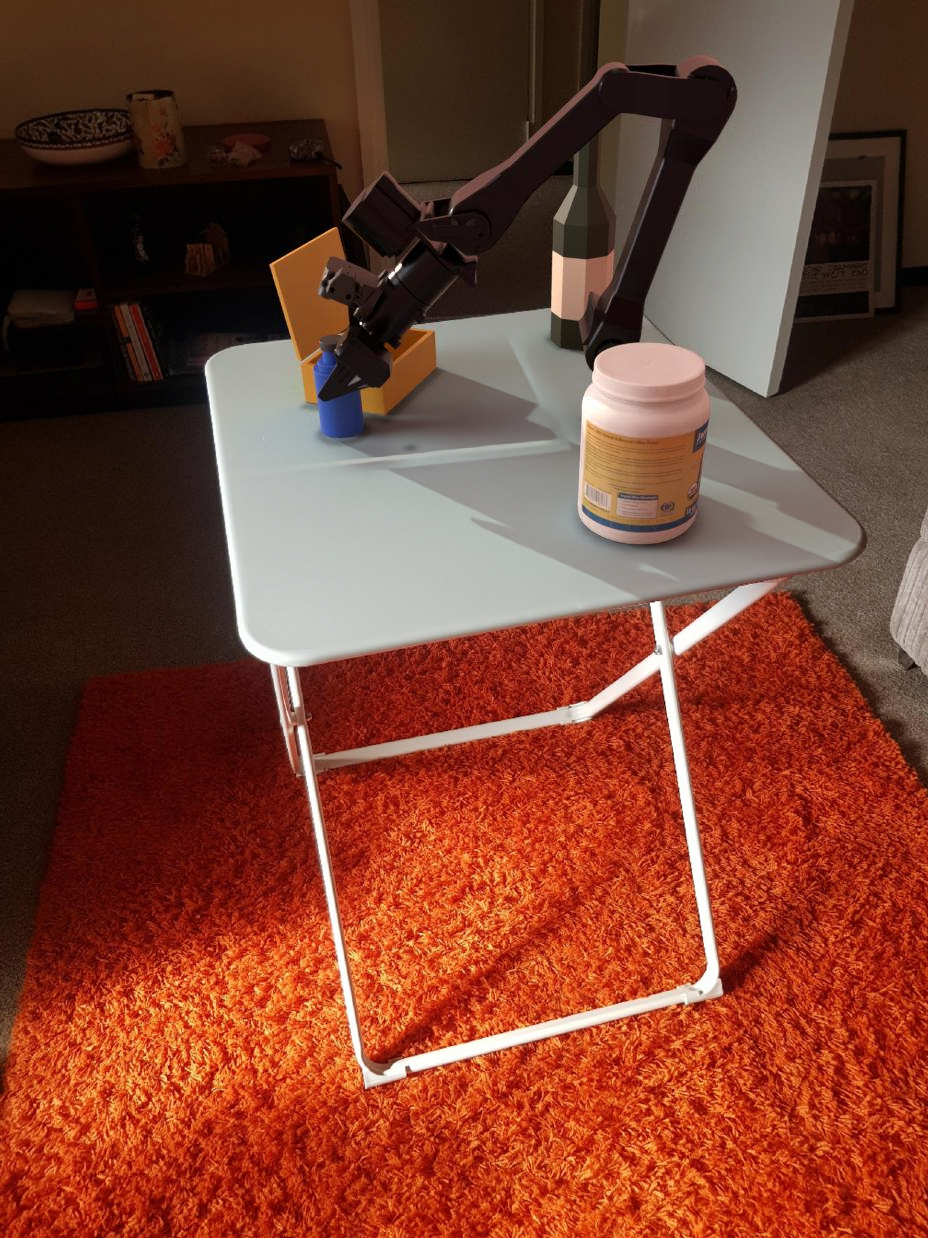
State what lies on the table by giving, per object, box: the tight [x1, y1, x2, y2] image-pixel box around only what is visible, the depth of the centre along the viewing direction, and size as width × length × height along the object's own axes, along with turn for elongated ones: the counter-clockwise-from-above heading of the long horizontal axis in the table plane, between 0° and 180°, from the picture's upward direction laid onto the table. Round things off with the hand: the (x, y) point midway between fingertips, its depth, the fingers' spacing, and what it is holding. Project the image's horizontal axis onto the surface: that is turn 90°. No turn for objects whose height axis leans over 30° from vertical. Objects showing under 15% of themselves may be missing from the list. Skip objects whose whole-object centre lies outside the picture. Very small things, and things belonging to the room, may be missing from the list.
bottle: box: [313, 334, 365, 439], centre depth 115 cm, size 5×5×12 cm
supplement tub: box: [577, 342, 711, 545], centre depth 96 cm, size 12×12×17 cm
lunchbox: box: [300, 327, 438, 416], centre depth 127 cm, size 11×15×6 cm
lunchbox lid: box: [269, 227, 349, 362], centre depth 124 cm, size 12×15×4 cm
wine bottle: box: [550, 129, 617, 351], centre depth 130 cm, size 8×8×30 cm
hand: (326, 381), depth 115 cm, fingers open, 9 cm apart
